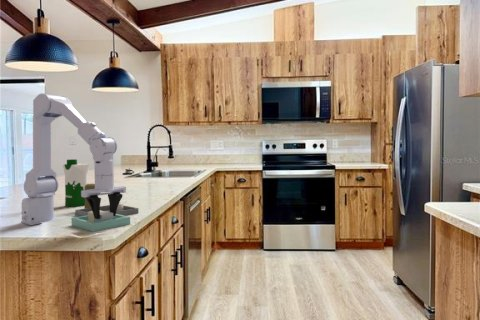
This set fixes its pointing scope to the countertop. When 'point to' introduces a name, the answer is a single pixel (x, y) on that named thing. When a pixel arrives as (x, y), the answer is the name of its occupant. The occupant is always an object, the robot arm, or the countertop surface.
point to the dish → (100, 223)
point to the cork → (88, 187)
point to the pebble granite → (120, 207)
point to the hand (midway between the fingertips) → (105, 217)
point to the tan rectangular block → (92, 216)
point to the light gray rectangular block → (105, 216)
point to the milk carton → (75, 182)
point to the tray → (108, 210)
